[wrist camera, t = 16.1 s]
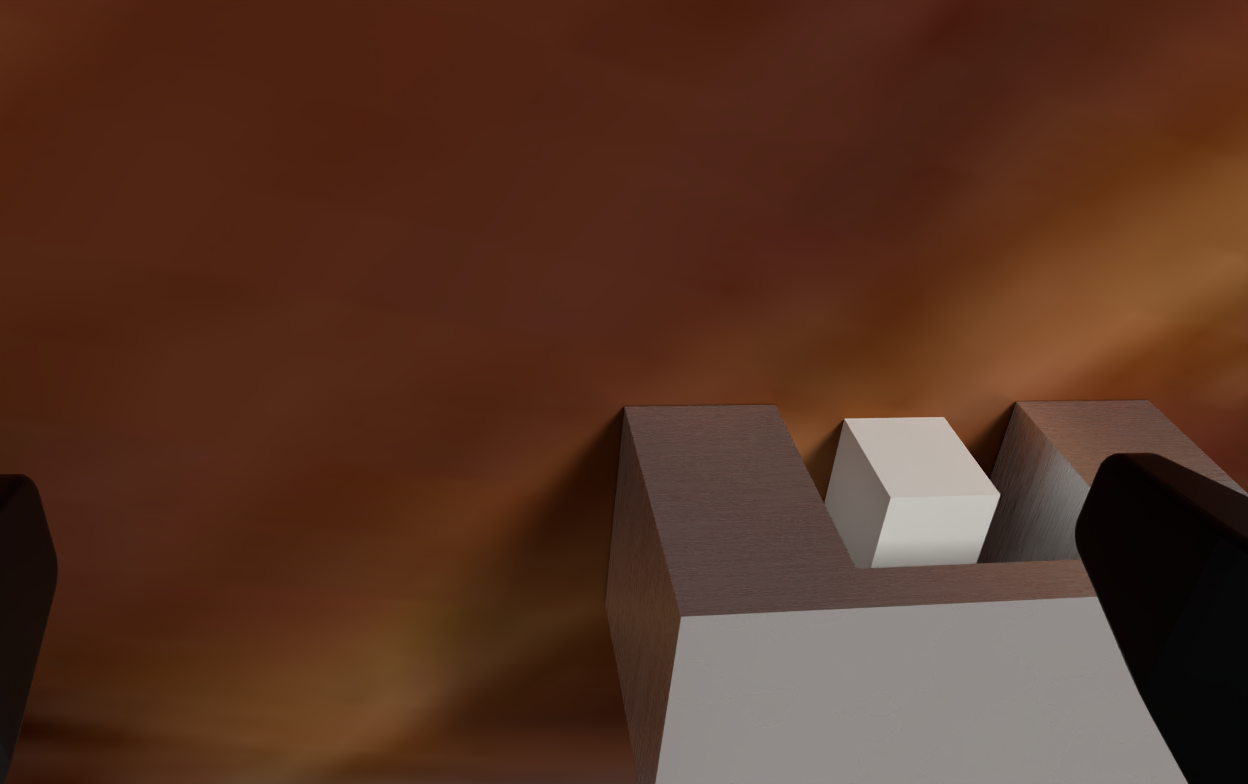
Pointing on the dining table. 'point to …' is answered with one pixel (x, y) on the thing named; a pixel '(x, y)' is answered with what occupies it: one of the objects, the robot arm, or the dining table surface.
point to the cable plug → (908, 494)
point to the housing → (870, 615)
